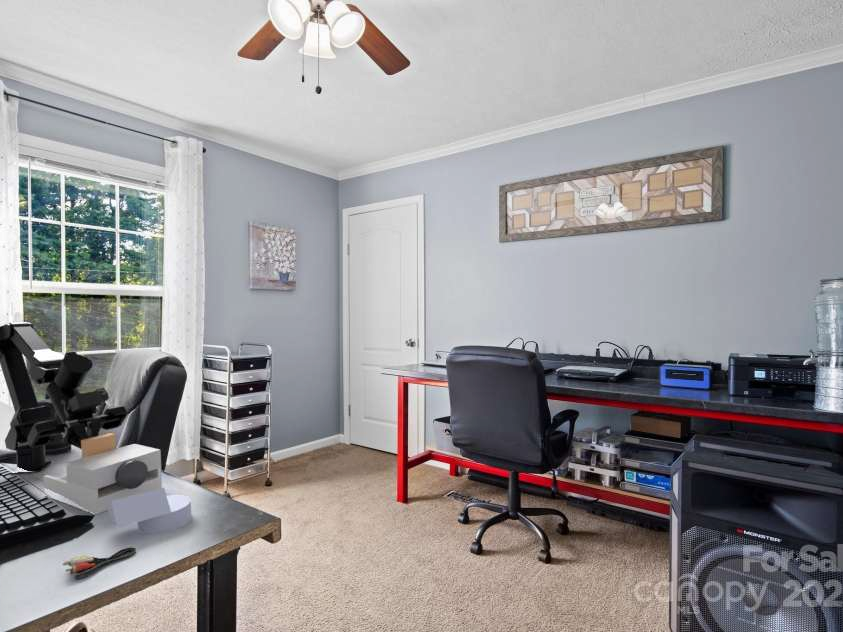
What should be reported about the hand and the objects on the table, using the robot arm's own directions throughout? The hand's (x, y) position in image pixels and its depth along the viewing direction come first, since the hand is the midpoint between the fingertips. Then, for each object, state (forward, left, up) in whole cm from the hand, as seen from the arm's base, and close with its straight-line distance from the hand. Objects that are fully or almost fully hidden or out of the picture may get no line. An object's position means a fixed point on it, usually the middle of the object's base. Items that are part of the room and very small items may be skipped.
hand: (96, 454), depth 106 cm
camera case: (+2, +2, -8) cm, 9 cm away
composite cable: (+35, +12, -9) cm, 38 cm away
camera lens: (-36, -22, -8) cm, 43 cm away
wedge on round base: (+22, +16, -8) cm, 29 cm away
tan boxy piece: (+3, +3, -5) cm, 6 cm away
